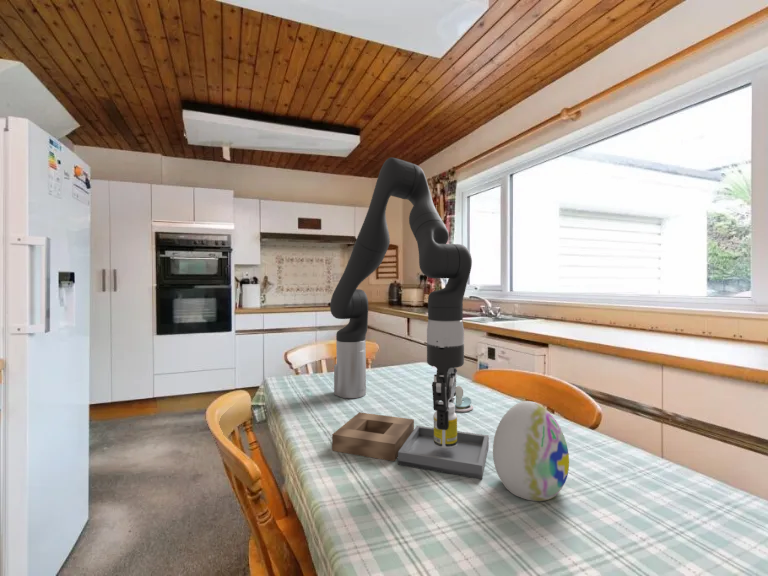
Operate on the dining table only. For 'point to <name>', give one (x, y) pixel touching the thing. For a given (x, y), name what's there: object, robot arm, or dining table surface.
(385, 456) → the walnut holder
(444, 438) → the supplement bottle
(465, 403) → the pacifier
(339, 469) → the dining table surface
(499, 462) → the decorative egg
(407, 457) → the charcoal tray
